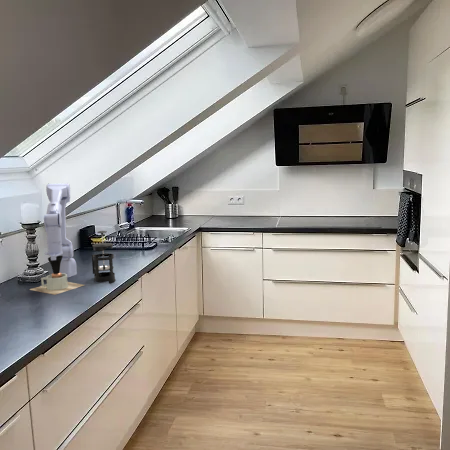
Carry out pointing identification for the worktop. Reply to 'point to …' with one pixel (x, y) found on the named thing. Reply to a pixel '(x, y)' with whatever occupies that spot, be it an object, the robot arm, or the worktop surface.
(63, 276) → the faceted mug
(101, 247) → the french press
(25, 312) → the worktop surface
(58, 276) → the plunger
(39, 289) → the serving board
